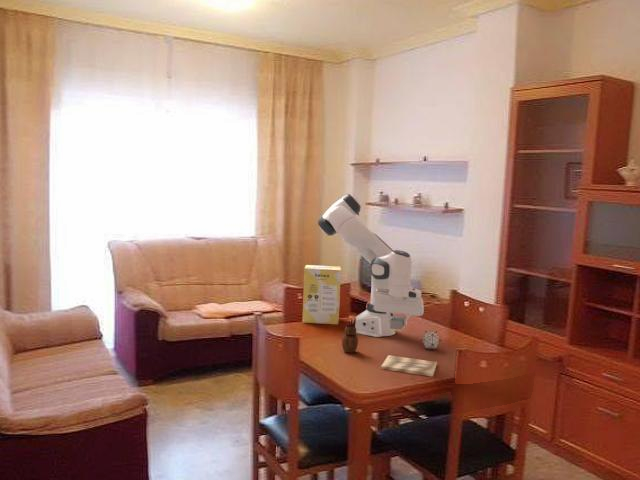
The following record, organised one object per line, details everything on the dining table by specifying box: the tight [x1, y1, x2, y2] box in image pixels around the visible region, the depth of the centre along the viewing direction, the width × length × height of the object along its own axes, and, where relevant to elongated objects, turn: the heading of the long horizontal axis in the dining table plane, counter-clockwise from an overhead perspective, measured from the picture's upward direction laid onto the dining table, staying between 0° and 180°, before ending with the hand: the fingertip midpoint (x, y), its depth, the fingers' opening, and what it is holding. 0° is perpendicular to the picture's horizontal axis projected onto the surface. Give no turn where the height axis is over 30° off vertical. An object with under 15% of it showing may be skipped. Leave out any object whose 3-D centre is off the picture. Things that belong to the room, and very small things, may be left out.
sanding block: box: [390, 315, 406, 332], centre depth 219 cm, size 4×8×4 cm, turn 161°
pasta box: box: [302, 264, 342, 325], centre depth 275 cm, size 18×10×28 cm, turn 86°
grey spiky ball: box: [420, 330, 443, 351], centre depth 237 cm, size 9×8×10 cm
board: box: [380, 354, 438, 378], centre depth 213 cm, size 20×14×1 cm
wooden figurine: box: [341, 317, 359, 354], centre depth 228 cm, size 7×6×15 cm
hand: (397, 323), depth 219 cm, fingers closed on sanding block, 4 cm apart
